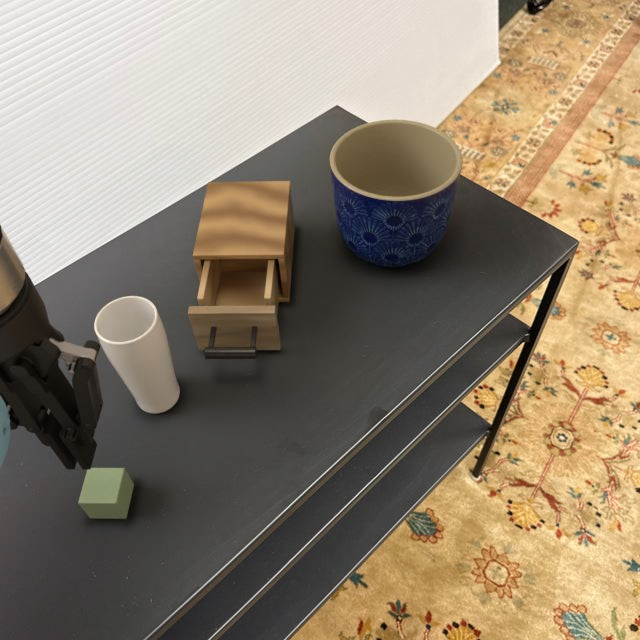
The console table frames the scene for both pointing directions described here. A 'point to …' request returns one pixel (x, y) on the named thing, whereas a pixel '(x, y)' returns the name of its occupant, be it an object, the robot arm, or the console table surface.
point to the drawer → (237, 308)
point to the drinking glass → (139, 351)
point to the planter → (394, 189)
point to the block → (106, 493)
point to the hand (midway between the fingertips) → (82, 456)
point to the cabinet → (248, 226)
